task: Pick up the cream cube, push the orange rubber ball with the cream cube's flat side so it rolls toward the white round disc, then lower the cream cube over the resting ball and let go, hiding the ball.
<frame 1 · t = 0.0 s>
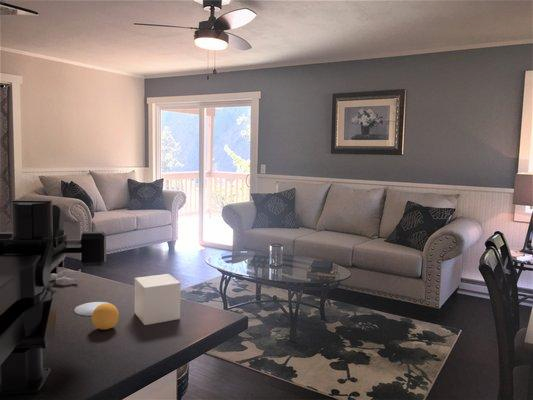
hand: (63, 240, 88), 17 cm above the kitchen counter, tool horizontal, fingers open, 9 cm apart
white round disc: (94, 308, 96), on the kitchen counter
ball: (105, 316, 85), on the kitchen counter
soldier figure: (55, 284, 112), on the kitchen counter, touching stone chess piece
cream cube: (157, 315, 93), on the kitchen counter
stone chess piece: (44, 293, 106), on the kitchen counter, touching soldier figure
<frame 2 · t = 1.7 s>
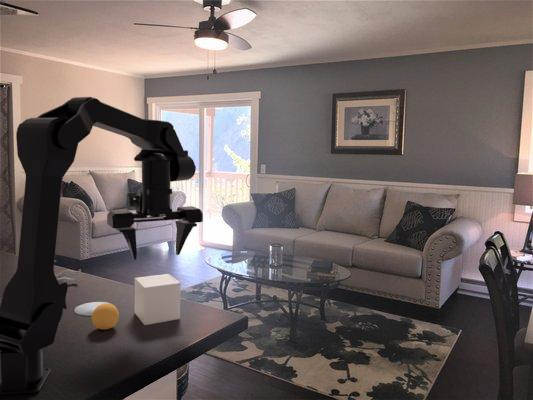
hand: (156, 257, 92), 13 cm above the kitchen counter, tool pointing down, fingers open, 9 cm apart
nothing on the kitchen counter moved.
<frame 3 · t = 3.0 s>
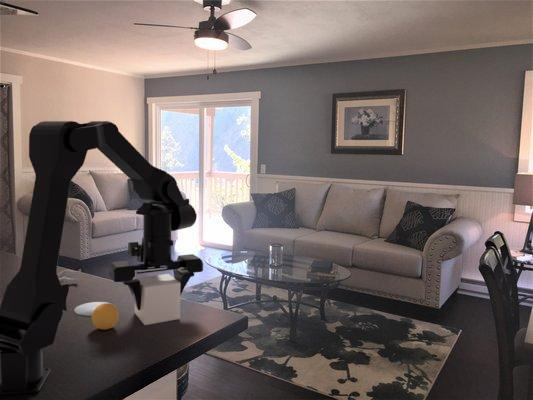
hand: (157, 306, 93), 2 cm above the kitchen counter, tool pointing down, fingers closed on cream cube, 7 cm apart
cream cube: (157, 315, 93), on the kitchen counter, touching gripper
everything else where it was.
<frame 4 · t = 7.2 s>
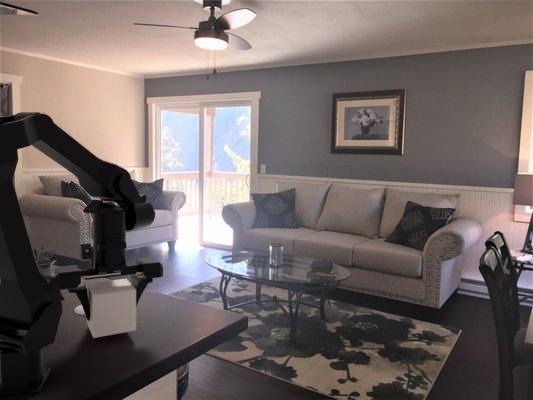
hand: (110, 316, 82), 4 cm above the kitchen counter, tool pointing down, fingers closed on cream cube, 7 cm apart
ball: (103, 312, 87), on the kitchen counter
cream cube: (111, 326, 82), point 2 cm above the kitchen counter, touching gripper
everything else where it was.
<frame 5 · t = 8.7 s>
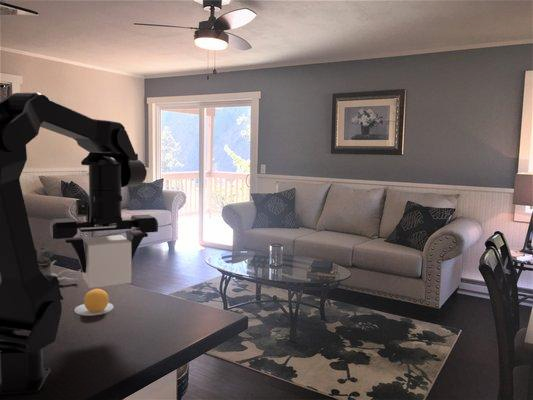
hand: (106, 270, 84), 12 cm above the kitchen counter, tool pointing down, fingers closed on cream cube, 7 cm apart
ball: (96, 300, 94), on the kitchen counter
cream cube: (106, 279, 84), point 10 cm above the kitchen counter, touching gripper
everything else where it was.
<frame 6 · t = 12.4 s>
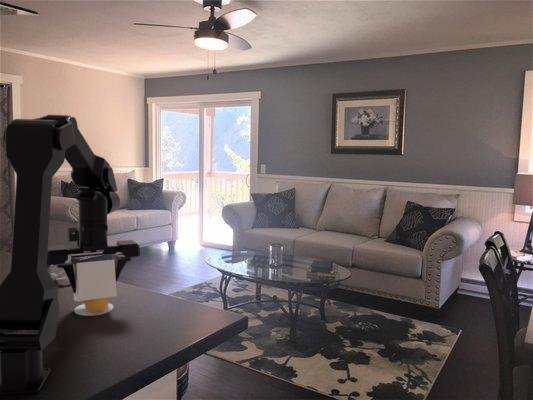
hand: (93, 290, 95), 4 cm above the kitchen counter, tool pointing down, fingers closed on cream cube, 7 cm apart
ball: (96, 301, 93), on the kitchen counter, touching cream cube
cream cube: (95, 298, 94), point 3 cm above the kitchen counter, tilted 17°, touching ball, gripper
everything else where it was.
when the fingers open (3 cm above the kitchen counter, at t = 13.4 s): cream cube drops 2 cm, on the kitchen counter.
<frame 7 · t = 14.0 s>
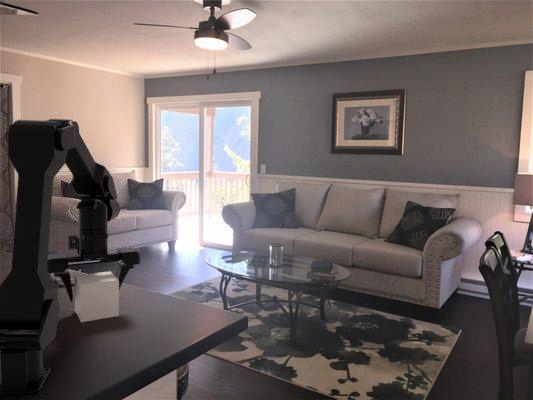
hand: (94, 297, 95), 3 cm above the kitchen counter, tool pointing down, fingers open, 9 cm apart
ball: (97, 301, 93), on the kitchen counter
cream cube: (96, 313, 93), on the kitchen counter
everything else where it was.
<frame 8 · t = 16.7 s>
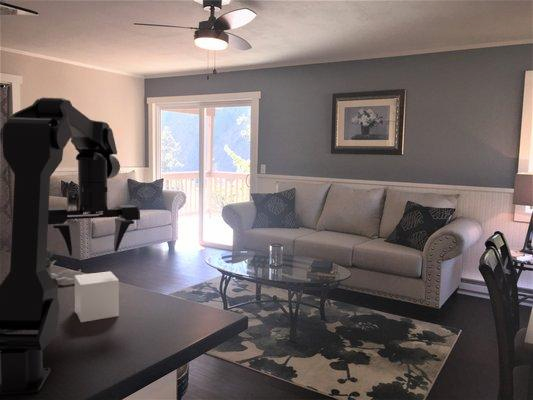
hand: (93, 253, 94), 12 cm above the kitchen counter, tool pointing down, fingers open, 9 cm apart
nothing on the kitchen counter moved.
at the end: ball 0.1 cm from the cream cube (horizontally); cream cube on the kitchen counter; ball moved 9.2 cm from its start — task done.
